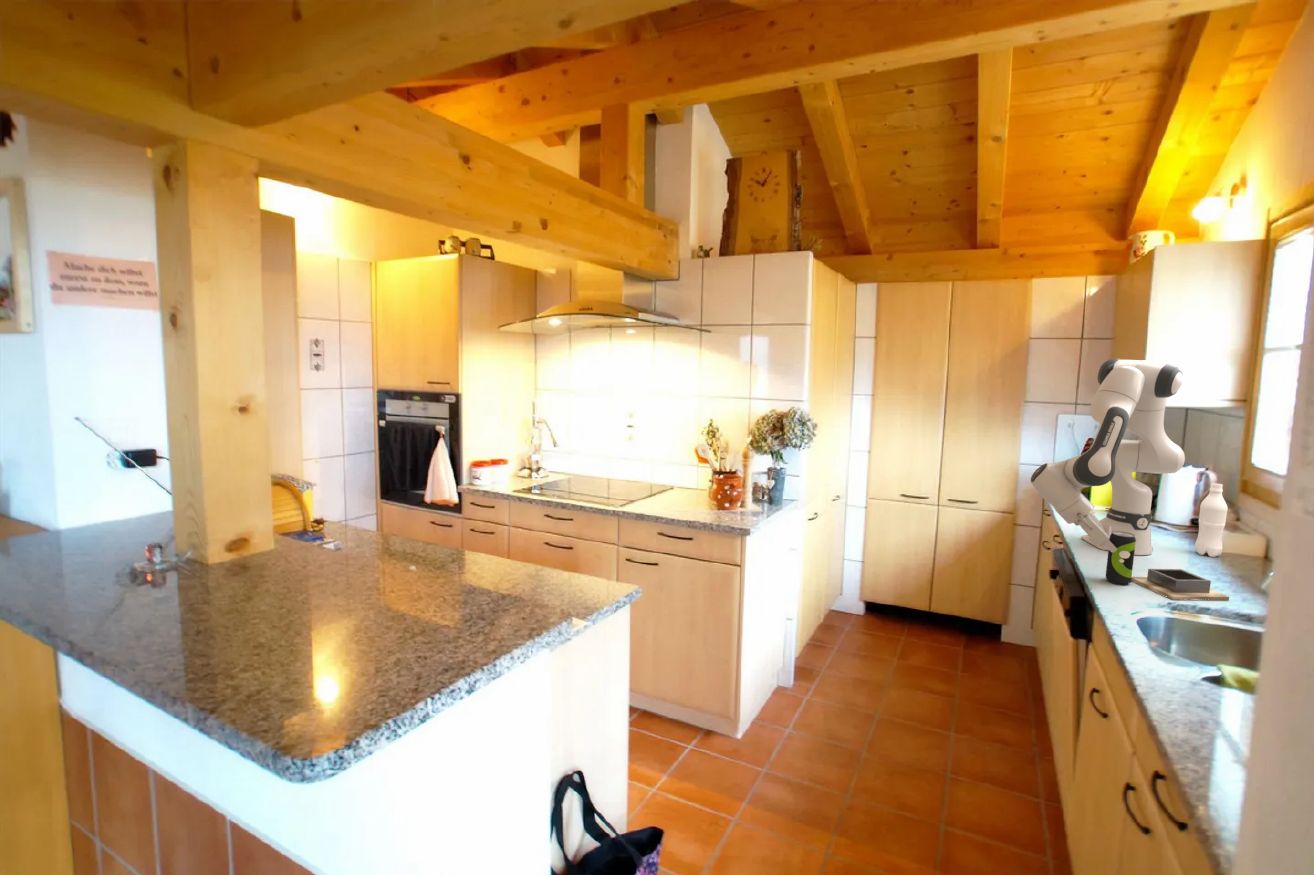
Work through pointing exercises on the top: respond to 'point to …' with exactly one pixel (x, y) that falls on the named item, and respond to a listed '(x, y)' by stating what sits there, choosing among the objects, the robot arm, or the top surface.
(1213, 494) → the water bottle
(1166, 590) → the docking plate
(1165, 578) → the gray open box
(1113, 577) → the beverage can
